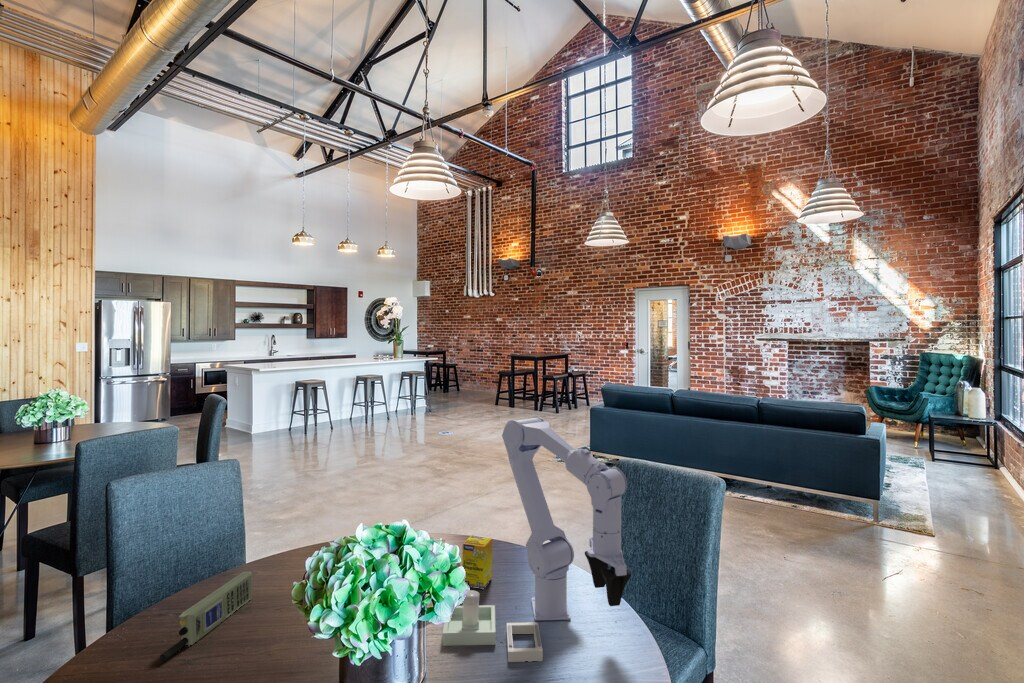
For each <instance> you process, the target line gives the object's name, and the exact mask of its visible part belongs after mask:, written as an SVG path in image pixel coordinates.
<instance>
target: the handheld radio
mask: <svg viewBox="0 0 1024 683" xmlns="http://www.w3.org/2000/svg"><path fill="white" fill-rule="evenodd" d="M252 579H253V578H252V571H250V570H249V571H243V572H241V573H239V574H238V575H236V576H235V577H234V578H232V579H231V580H229V581H228V582H226V583H224V584H223V585H222V586H220V587H219V588H217V589H216V590H214V591H212V592H211V593H210V594H208V595H207V596H206V597H204V598H202V599H201V600H199V601H197V602H196V603H195V604H194V605H192V606H191V607H189V608H188V609H186V610H184V611H183V612H181V614H180V615H179V616H178V618H180V620H179V625H180V627H181V628H180V630H179V631H178V635H179V636H181V637H180V638H181V639H180V640H179V642H177V643H175V644H173V645H172V646H171V647H170V648H168V649H167V650H166V651H164V652H162V653H161V654H160V655H159V660H160V661H162V662H165V661H166V660H167V659H168V658H170V657H171V656H173V655H174V654H175V653H176V652H177V651H179V650H180V649H181V648H182V647H185V646H184V645H189V646H188V647H191V646H190V645H192V646H193V645H194V644H196V643H197V642H198V641H200V640H201V639H203V637H204V636H206V635H207V634H209V633H210V632H212V631H213V630H214V629H215V628H217V627H218V626H219V625H220V624H222V623H224V621H225V620H227V619H228V618H230V617H231V616H232V615H233V614H235V613H236V612H237V611H239V610H240V609H241V608H242V607H244V606H245V605H246V604H248V603H249V602H250V601H252V600H253V582H252V581H253V580H252ZM249 600H250V601H249ZM248 601H249V602H248ZM244 604H245V605H244ZM243 605H244V606H243ZM241 606H242V607H241ZM240 607H241V608H240ZM239 608H240V609H239ZM236 610H237V611H236ZM235 611H236V612H235ZM234 612H235V613H234ZM230 615H231V616H230ZM226 618H227V619H226ZM221 622H222V623H221ZM195 642H196V643H195Z"/></svg>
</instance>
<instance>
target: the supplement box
mask: <svg viewBox="0 0 1024 683" xmlns="http://www.w3.org/2000/svg"><path fill="white" fill-rule="evenodd" d="M461 562H462V565H461V566H463V567H464V569H465V571H466V578H465V582H466V583H467V584H468V585H469V586H470V587H471V586H472V587H479V588H485V586H486V585H487V584H488V582H489V581H490V579H491V578H492V575H493V573H492V572H493V571H492V570H493V566H492V565H493V538H492V537H484V536H483V537H482V536H475V535H470V536H469V537H468V538H467V539H466V540H465V541H464V542H463V543H462V561H461ZM490 582H491V581H490ZM488 585H489V584H488ZM488 585H487V586H488ZM485 589H486V588H485Z"/></svg>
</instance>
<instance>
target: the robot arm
mask: <svg viewBox="0 0 1024 683" xmlns="http://www.w3.org/2000/svg"><path fill="white" fill-rule="evenodd" d="M501 438H502V440H503V443H504V445H505V449H506V452H507V456H508V462H509V464H510V468H511V471H512V474H513V478H514V480H515V484H516V487H517V491H518V493H519V496H520V500H521V503H522V505H523V509H524V512H525V516H526V518H527V521H528V524H529V528H530V532H531V534H530V535H529V537H528V539H527V541H526V543H525V547H526V552H527V563H528V566H529V569H530V570H531V571H532V574H533V575H534V597H531V606H532V612H533V619H534V621H569V620H571V619H572V617H571V613H570V611H569V610H570V609H569V608H568V603H567V594H568V593H567V590H568V587H567V586H568V582H567V581H568V578H567V577H568V576H567V574H568V572H569V570H570V566H571V565H572V563H573V562H574V559H575V552H574V548H573V546H572V543H571V542H570V541H569V539H568V537H567V536H566V534H565V531H564V530H563V529H562V528H560V527H558V526H557V525H555V523H554V521H553V518H552V515H551V512H550V509H549V506H548V503H547V500H546V496H545V494H544V491H543V488H542V484H541V482H540V478H539V477H538V473H537V470H536V468H535V464H534V461H533V460H534V457H535V454H537V452H538V451H539V450H540V449H541V447H542V448H544V449H546V450H548V452H550V453H551V454H553V455H555V456H556V457H558V458H559V459H560V460H562V461H563V462H565V464H564V465H565V469H566V471H568V472H569V474H572V476H574V477H575V478H576V479H578V481H580V482H581V483H582V484H584V485H585V486H586V490H587V492H588V494H589V497H590V500H591V503H590V504H591V506H592V537H589V547H590V548H591V549H588V550H586V551H584V555H585V558H586V560H587V562H588V565H589V569H590V571H591V577H592V582H593V586H594V588H596V589H597V588H598V589H599V588H600V589H601V588H606V597H607V604H608V606H609V607H617V606H620V605H621V602H622V599H623V598H622V597H623V594H624V590H625V588H626V586H627V583H628V581H629V580H630V579H631V577H632V572H631V571H630V570H629V569H627V567H628V565H627V564H626V563H625V560H624V555H623V551H622V495H624V494H625V493H626V491H627V489H628V480H627V477H626V475H625V474H624V472H623V471H622V470H621V469H620V468H619V467H615V466H612V467H610V466H607V464H606V463H605V462H604V461H603V462H601V461H600V460H599V459H597V458H596V457H594V456H593V455H592V454H590V453H591V451H589V450H588V449H587V448H584V449H583V448H574V447H572V445H570V444H569V443H568V442H567V441H566V440H565V439H564V438H563V437H561V436H560V435H559V434H558V433H557V432H556V431H555V430H554V429H552V428H551V424H550V422H548V421H546V420H545V419H544V418H543V417H541V416H536V417H535V416H534V417H532V418H531V417H530V418H524V419H511V420H508V421H507V422H506V424H505V426H504V429H503V432H502V434H501ZM546 541H548V542H546ZM609 566H610V568H608V567H609Z"/></svg>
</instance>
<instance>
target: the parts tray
mask: <svg viewBox="0 0 1024 683" xmlns="http://www.w3.org/2000/svg"><path fill="white" fill-rule="evenodd" d="M456 606H457V607H456V608H455V609H454V611H453V614H452V618H451V621H450V622H448V623H445V624H444V623H443V629H442V646H443V647H446V646H447V647H449V646H491V645H492V646H493V645H494V646H495V645H496V605H494V604H492V605H491V604H489V605H487V604H486V605H484V604H483V605H481V604H480V605H479V629H478V630H470V631H463V629H462V621H463V605H456Z"/></svg>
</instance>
